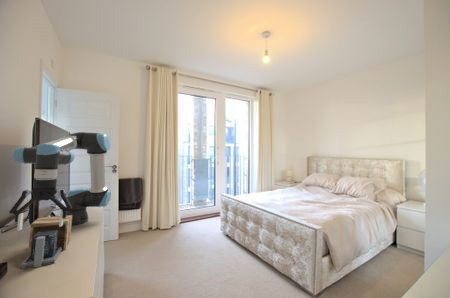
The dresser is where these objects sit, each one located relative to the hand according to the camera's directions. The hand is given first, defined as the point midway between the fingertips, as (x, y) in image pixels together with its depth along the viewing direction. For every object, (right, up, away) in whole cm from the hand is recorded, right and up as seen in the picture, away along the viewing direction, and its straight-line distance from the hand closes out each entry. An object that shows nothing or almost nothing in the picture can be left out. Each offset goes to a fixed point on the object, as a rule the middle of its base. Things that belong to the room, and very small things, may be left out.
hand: (41, 227), depth 85 cm
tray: (-4, -17, +5) cm, 18 cm away
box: (-4, -16, +6) cm, 18 cm away
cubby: (-10, -17, +16) cm, 25 cm away
